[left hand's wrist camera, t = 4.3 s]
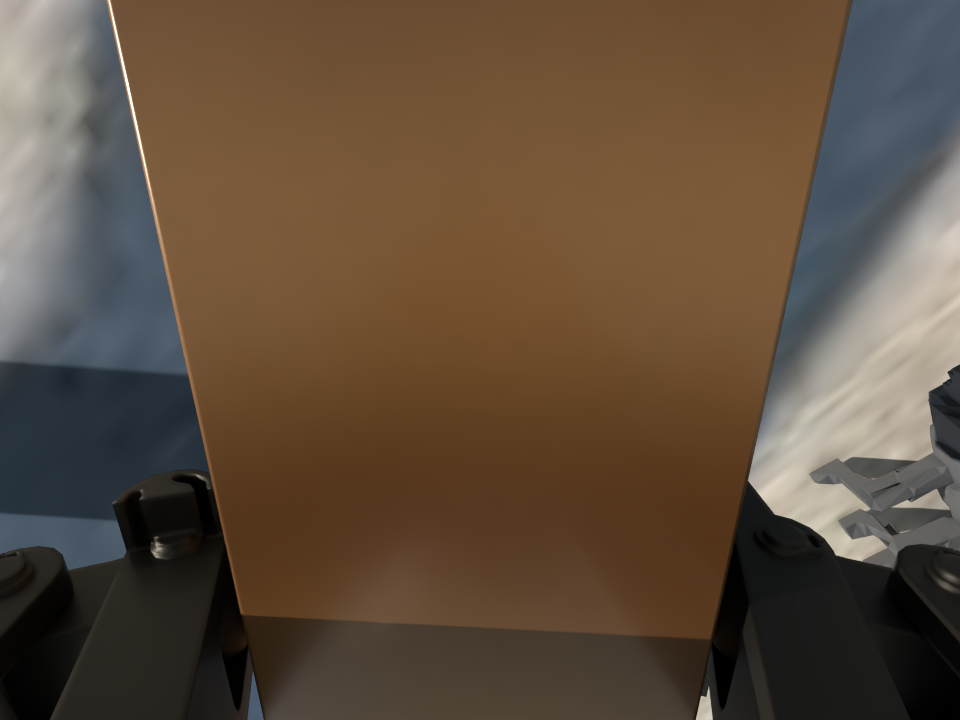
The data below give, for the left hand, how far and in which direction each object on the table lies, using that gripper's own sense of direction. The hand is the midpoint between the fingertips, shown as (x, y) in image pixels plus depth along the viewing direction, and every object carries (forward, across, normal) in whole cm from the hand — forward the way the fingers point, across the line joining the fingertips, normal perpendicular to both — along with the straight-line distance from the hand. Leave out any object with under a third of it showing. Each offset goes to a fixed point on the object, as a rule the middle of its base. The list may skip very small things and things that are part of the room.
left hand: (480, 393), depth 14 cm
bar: (+1, 0, -7) cm, 7 cm away
